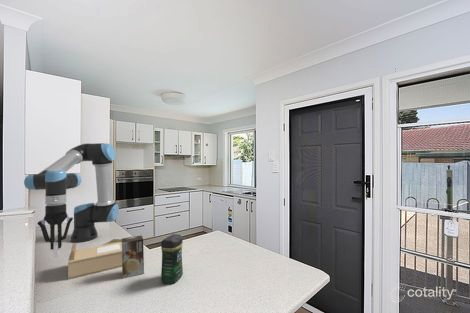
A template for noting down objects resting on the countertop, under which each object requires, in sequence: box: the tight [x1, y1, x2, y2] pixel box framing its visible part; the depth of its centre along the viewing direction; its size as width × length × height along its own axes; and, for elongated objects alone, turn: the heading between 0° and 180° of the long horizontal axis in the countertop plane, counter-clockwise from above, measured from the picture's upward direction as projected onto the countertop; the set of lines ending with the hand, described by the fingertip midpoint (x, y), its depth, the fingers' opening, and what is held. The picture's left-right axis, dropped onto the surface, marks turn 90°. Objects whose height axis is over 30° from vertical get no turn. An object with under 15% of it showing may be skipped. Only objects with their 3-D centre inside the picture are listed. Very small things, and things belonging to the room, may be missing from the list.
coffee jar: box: [160, 233, 184, 284], centre depth 98 cm, size 10×8×19 cm
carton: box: [102, 238, 122, 245], centre depth 131 cm, size 8×16×4 cm, turn 172°
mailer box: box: [67, 252, 122, 281], centre depth 111 cm, size 14×26×7 cm, turn 122°
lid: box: [67, 242, 122, 264], centre depth 111 cm, size 14×26×5 cm, turn 122°
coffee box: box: [121, 234, 145, 279], centre depth 103 cm, size 9×6×16 cm
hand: (56, 255), depth 102 cm, fingers closed
